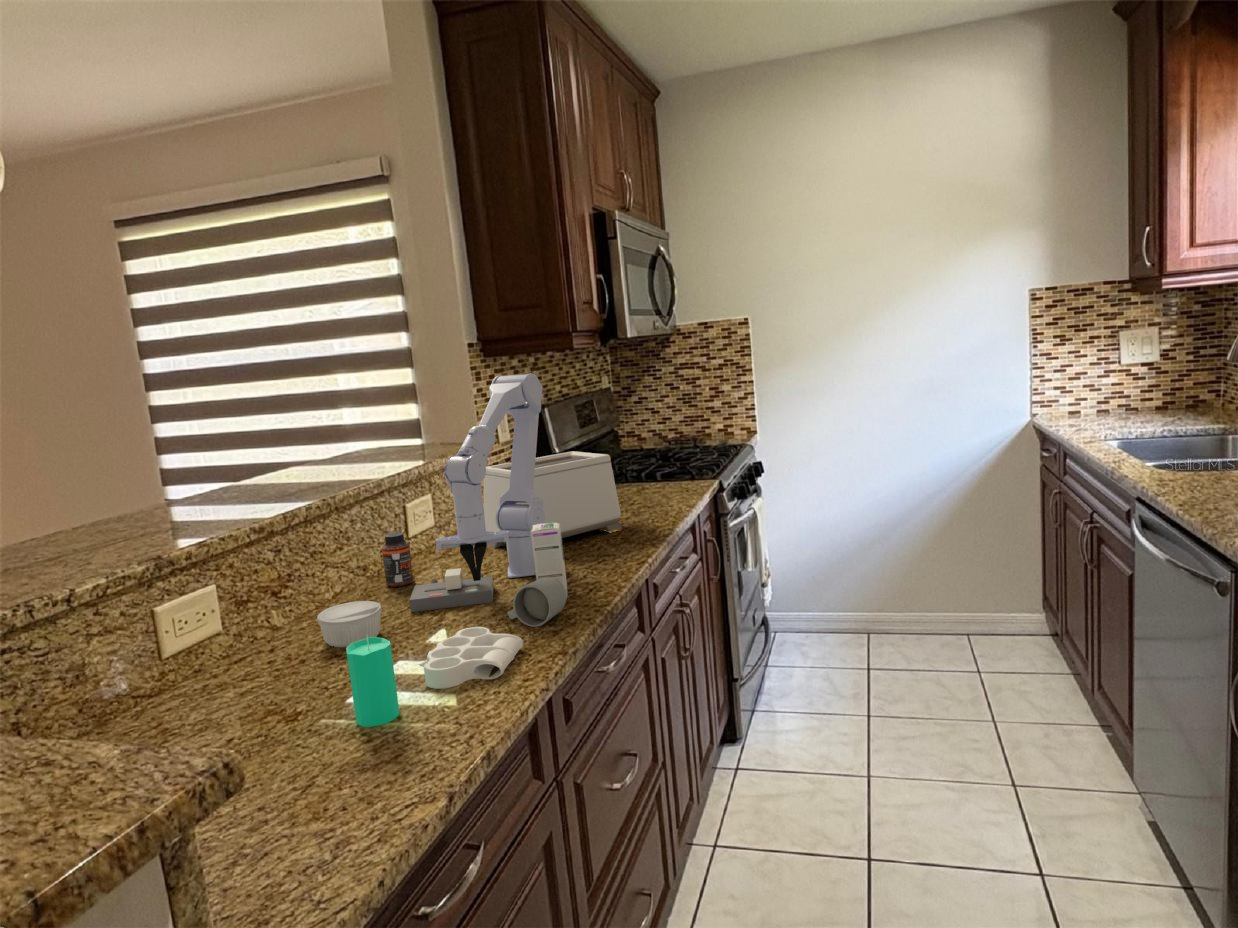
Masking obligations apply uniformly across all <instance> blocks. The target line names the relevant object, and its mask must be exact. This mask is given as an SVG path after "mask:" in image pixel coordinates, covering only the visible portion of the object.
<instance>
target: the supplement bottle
mask: <svg viewBox="0 0 1238 928" xmlns="http://www.w3.org/2000/svg"><path fill="white" fill-rule="evenodd" d="M384 541H385V543H384V544H383V545H382V547H381V553H382V554H381V555H382V560H383V569H384V577H385V583H386V586H388V587H394V588H396V587H398V588H399V587H404V586H408V585H410V584H411V583H412V582H414V575H413V565H412V558H411V549H410V544H409V543H408V542H407V541H406V540H405V535H404V533H403V532H392V533H388V534H385V535H384Z"/></svg>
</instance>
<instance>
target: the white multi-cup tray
mask: <svg viewBox="0 0 1238 928" xmlns="http://www.w3.org/2000/svg"><path fill="white" fill-rule="evenodd" d="M523 647H524V641H523V639H522V638H521V637H520V636H518V635H515V634H509V633H493V632H491V630H490V629H489V628H487V627H485V626H472V627H467V628H462V629H460V630H457V632H456V633H455V634H454V635H452V636H450V637H447V638H444V639H442V640H441V641H438V643H436V647H434V648H433V649H431V650H429V651H428V653H427V656H426V660H424V661H423V662H421V663H420V664H418V666H420V667H421V668H422V667H423V671H424V673H423V674H424V681H425V685H426V686H427V687H428V688H430V689H437V690H439V689H440V690H441V689H449V688H453V687H456V686H458V685H461V684H463V683H465V682H467V681H470V680H474V679H475V680H477V679H479V680H480V679H481V680H494V679H497V678H499V677H500V676H502V675H503V674H504V673H505V670H506V668H507V667H508V666H509V665H510V663H511V662H513V660H514V659H515V657H516V654H518V653H519V651H520V650H521V649H522V648H523ZM495 667H497V668H499V669H497V671H496V672H495V673H494V674H492V675H491V676H490V674H491V672H492V670H493V669H494V668H495Z"/></svg>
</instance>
